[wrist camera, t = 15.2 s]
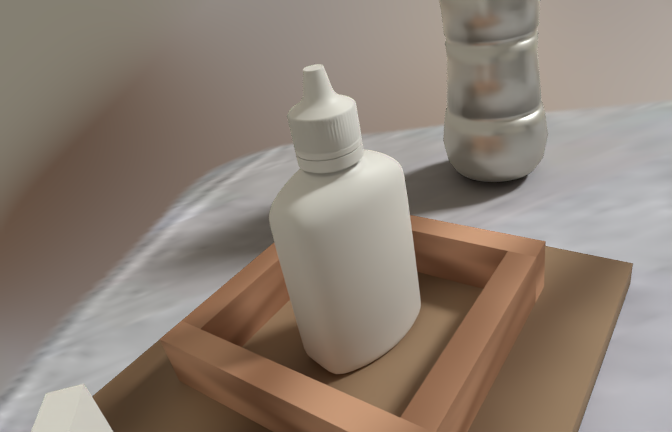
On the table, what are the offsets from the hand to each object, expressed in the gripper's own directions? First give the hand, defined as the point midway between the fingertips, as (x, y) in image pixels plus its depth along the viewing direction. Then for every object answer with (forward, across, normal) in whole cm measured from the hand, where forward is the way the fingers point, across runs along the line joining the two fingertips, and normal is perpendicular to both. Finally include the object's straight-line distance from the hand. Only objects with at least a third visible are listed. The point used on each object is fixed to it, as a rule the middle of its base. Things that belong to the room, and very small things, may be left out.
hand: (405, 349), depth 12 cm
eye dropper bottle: (+9, 0, -8) cm, 13 cm away
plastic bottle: (+23, +12, -10) cm, 28 cm away
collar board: (+9, 0, -9) cm, 13 cm away
